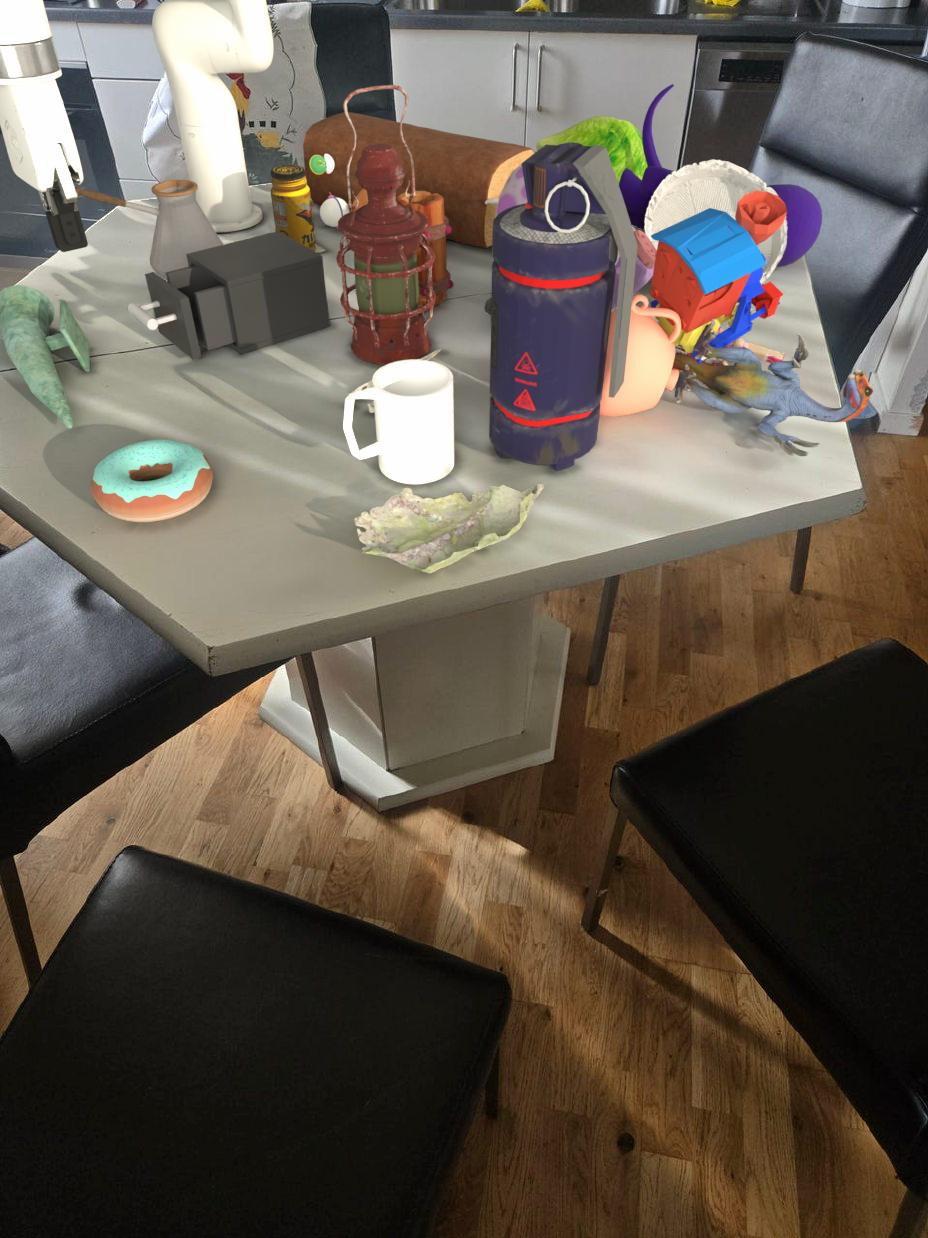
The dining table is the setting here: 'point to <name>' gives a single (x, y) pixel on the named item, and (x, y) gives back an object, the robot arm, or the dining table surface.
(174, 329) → the drawer
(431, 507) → the cabbage leaf
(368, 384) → the jawbone
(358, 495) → the dining table surface
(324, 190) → the bread
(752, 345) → the toy
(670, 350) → the sugar bowl
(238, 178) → the robot arm
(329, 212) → the toy
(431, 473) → the cup
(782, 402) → the toy dinosaur
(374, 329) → the lantern
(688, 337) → the toy train
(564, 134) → the lettuce
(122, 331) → the dining table surface
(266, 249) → the cabinet
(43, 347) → the decorative horn
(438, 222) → the mug
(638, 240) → the toy
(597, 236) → the canister
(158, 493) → the donut
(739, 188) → the food container
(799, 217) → the toy
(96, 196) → the coffee pot
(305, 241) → the condiment
